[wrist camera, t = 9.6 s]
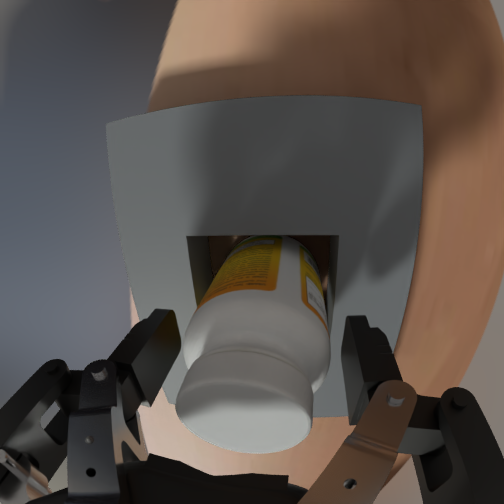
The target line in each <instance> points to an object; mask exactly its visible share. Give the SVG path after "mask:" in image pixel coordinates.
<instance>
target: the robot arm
mask: <svg viewBox="0 0 504 504" xmlns="http://www.w3.org/2000/svg"><path fill="white" fill-rule="evenodd" d="M180 350H181V336H180V332H179V327H178V323H177V319H176V314H175V312H174V310H171V309H159V308H156V309H154V311H153V312H152V313H151V314H150V316H149V317H148V318H147V319H146V318H145V319H143V320H142V321H140V322H138V323H137V324H135V326H134V327H133V328H132V329H131V330H130V332H129V333H128V334H127V335H126V337H125V338H124V340H122V341H121V343H120V344H119V345H118V346H117V348H116V349H115V350H114V352H113V353H112V354H111V355H110V356H109V358H108V359H107V360H106V359H101V360H96V361H93V362H91V363H90V364H88V365H87V366H86V367H85V369H84V370H69V368H68V366H67V364H66V363H65V361H63V360H61V359H53V360H50V361H48V362H46V363H45V364H44V365H42V366H41V367H40V368H39V369H38V370H37V371H36V372H35V373H34V374H33V375H32V376H31V377H30V378H29V379H28V381H27V382H26V383H25V384H24V385H23V386H22V387H21V388H20V389H19V390H18V391H17V392H16V393H15V394H14V395H13V396H12V397H11V398H10V399H9V400H8V402H7V403H6V404H5V405H4V406H3V407H2V408H1V409H0V502H1V503H2V504H373V502H374V500H375V499H376V497H377V495H378V494H379V492H380V490H381V488H382V486H383V484H384V483H385V481H386V479H387V477H388V475H389V473H390V471H391V469H392V467H393V465H394V463H395V461H396V458H397V456H398V453H405V454H412V458H413V462H414V466H415V469H416V474H417V477H418V482H419V486H420V490H421V495H422V499H423V504H504V458H503V456H502V453H501V451H500V448H499V446H498V444H497V441H496V439H495V437H494V435H493V433H492V430H491V429H490V426H489V424H488V422H487V420H486V418H485V416H484V414H483V412H482V410H481V408H480V406H479V404H478V403H477V401H476V399H475V397H474V396H473V394H472V393H471V392H469V391H468V390H466V389H464V388H460V387H453V388H450V389H448V390H446V391H445V392H444V393H443V394H442V396H441V398H437V397H428V396H421V395H418V394H417V393H416V391H415V390H414V388H413V387H412V386H411V385H409V384H408V383H406V382H403V380H402V377H401V374H400V371H399V368H398V365H397V363H396V360H395V357H394V354H392V349H391V346H390V344H389V341H388V339H387V336H386V334H385V333H384V332H383V331H381V330H380V329H379V328H378V327H371V328H370V326H369V323H368V320H367V317H366V315H348V316H347V317H346V320H345V327H344V334H343V340H342V346H341V363H342V370H343V377H344V384H345V392H346V400H347V408H348V417H349V425H356V427H355V428H354V430H353V432H352V433H351V435H348V437H347V438H346V439H345V441H344V442H343V444H342V445H341V447H340V448H339V450H338V451H337V452H336V454H335V455H334V457H333V458H332V460H331V461H330V463H329V464H328V465H327V467H326V468H325V469H324V471H323V472H322V473H321V475H320V476H319V477H318V479H317V480H316V481H315V483H314V484H313V485H312V486H311V488H310V489H309V490H307V489H305V488H303V487H300V486H297V485H294V484H290V483H288V477H289V475H268V474H255V473H249V474H238V475H223V476H213V475H209V474H207V473H204V472H202V471H200V470H198V469H195V468H193V467H191V466H189V465H187V464H185V463H183V462H181V461H177V460H173V459H169V458H165V457H161V456H158V455H154V454H151V453H150V454H149V456H148V455H147V453H146V450H145V445H144V439H143V434H142V428H141V422H140V415H139V412H138V410H137V409H138V408H139V406H140V405H143V406H147V407H151V406H152V404H153V402H154V400H155V398H156V396H157V394H158V392H159V390H160V389H161V387H162V385H163V383H164V381H165V379H166V377H167V375H168V374H169V372H170V370H171V368H172V366H173V364H174V362H175V360H176V359H177V357H178V355H179V353H180ZM54 401H55V402H56V403H57V405H58V407H59V408H60V410H59V412H58V413H57V414H56V415H55V416H54V418H53V419H52V420H51V421H50V423H49V424H48V425H47V426H46V428H45V429H44V430H43V428H42V427H41V424H40V420H41V417H42V416H43V414H44V413H45V412H46V411H47V410H48V408H49V407H50V406H51V405H52V404H53V403H54ZM66 456H67V475H68V487H67V488H65V489H62V490H59V491H57V492H54V493H52V491H51V489H50V488H49V487H48V483H49V481H50V480H51V478H52V477H53V475H54V473H55V472H56V471H57V469H58V468H59V466H60V465H61V464H62V462H63V461H64V459H65V458H66Z"/></svg>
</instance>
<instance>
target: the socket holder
mask: <svg viewBox="0 0 504 504" xmlns="http://www.w3.org/2000/svg"><path fill="white" fill-rule="evenodd" d="M106 135H107V148H108V160H109V170H110V178H111V187H112V195H113V202H114V208H115V215H116V221H117V226H118V232H119V237H120V242H121V247H122V252H123V257H124V262H125V266H126V270H127V275H128V279H129V283H130V287H131V291H132V295H133V299H134V302H135V306H136V310H137V313H138V317H139V320H140V321H142V320H143V319H145V318H146V319H147V318H148V317H149V316H150V314H151V313H152V312H153V311H154V309H156V308H159V309H171V310H174V312H175V314H176V319H177V323H178V327H179V332H180V336H181V350H180V353H179V355H178V357H177V359H176V360H175V362H174V364H173V366H172V368H171V370H170V372H169V374H168V375H167V377H166V379H165V381H164V383H163V385H162V387H163V390H164V392H165V395H166V397H167V400H168V402H169V403H170V404H176V398H177V395H178V392H179V390H180V388H181V385H182V383H183V380H184V378H185V375H186V373H187V371H188V368H187V365H186V362H185V358H184V353H183V341H184V335H185V332H186V329H187V327H188V325H189V322H190V320H191V318H192V316H193V314H194V312H195V311H196V309H197V307H198V305H199V303H200V302H201V300H202V299H203V297H204V296H205V294H206V292H207V290H208V289H209V287H210V285H211V284H212V282H213V278H212V269H211V261H210V252H209V243H208V236H220V235H330V250H329V269H328V284H327V298H326V317H327V323H328V330H329V336H330V345H331V360H330V366H329V370H328V373H327V376H326V378H325V380H324V381H323V383H322V384H321V386H320V387H319V388H318V389H317V391H316V392H315V393H313V394H314V401H313V417H340V416H348V408H347V400H346V392H345V384H344V377H343V370H342V363H341V346H342V340H343V334H344V327H345V320H346V317H347V316H348V315H366V317H367V320H368V323H369V326H370V328H371V327H378V328H379V329H380V330H381V331H383V332H384V333H385V334H386V336H387V339H388V341H389V344H390V346H391V349H392V354H393V352H394V348H395V345H396V342H397V338H398V334H399V331H400V327H401V323H402V319H403V315H404V311H405V307H406V303H407V298H408V293H409V289H410V284H411V278H412V273H413V267H414V261H415V255H416V248H417V241H418V233H419V225H420V215H421V203H422V187H423V121H422V106H421V105H416V104H410V103H404V102H397V101H389V100H381V99H371V98H360V97H345V96H319V95H291V96H265V97H250V98H239V99H229V100H220V101H212V102H205V103H198V104H191V105H185V106H179V107H174V108H169V109H164V110H159V111H154V112H150V113H145V114H141V115H137V116H133V117H129V118H125V119H121V120H117V121H114V122H110V123H107V124H106Z"/></svg>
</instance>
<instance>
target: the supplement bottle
mask: <svg viewBox="0 0 504 504" xmlns="http://www.w3.org/2000/svg"><path fill="white" fill-rule="evenodd" d="M183 353H184V358H185V362H186V365H187V368H188V371H187V373H186V375H185V378H184V380H183V383H182V385H181V388H180V390H179V392H178V395H177V398H176V404H175V408H176V412H177V415H178V417H179V419H180V420H181V422H182V423H183V424H184V425H185V427H186V428H187V429H188V430H190V431H191V432H192V433H194V434H195V435H196V436H198V437H199V438H201V439H203V440H204V441H206V442H208V443H211V444H213V445H215V446H218V447H221V448H224V449H228V450H232V451H236V452H243V453H272V452H278V451H282V450H285V449H288V448H291V447H293V446H295V445H297V444H299V443H300V442H301V441H303V440H304V439H305V438H306V437H307V435H308V434H309V432H310V430H311V428H312V421H313V401H314V394H313V393H315V392H316V391H317V389H318V388H319V387H320V386H321V384H322V383H323V381H324V380H325V378H326V376H327V373H328V370H329V366H330V360H331V345H330V336H329V330H328V323H327V317H326V310H325V304H324V297H323V291H322V285H321V279H320V273H319V270H318V266H317V263H316V261H315V259H314V257H313V256H312V254H311V253H310V251H309V250H308V249H307V248H306V247H305V246H304V245H302V244H301V243H300V242H298V241H297V240H295V239H293V238H291V237H289V236H286V235H254V236H251V237H249V238H247V239H245V240H243V241H242V242H240V243H239V244H238V245H237V246H235V248H234V249H233V250H232V251H231V252H230V254H229V255H228V256H227V258H226V260H225V261H224V263H223V265H222V266H221V268H220V270H219V272H218V273H217V275H216V277H215V278H214V280H213V282H212V284H211V285H210V287H209V289H208V290H207V292H206V294H205V296H204V297H203V299H202V300H201V302H200V303H199V305H198V307H197V309H196V311H195V312H194V314H193V316H192V318H191V320H190V322H189V325H188V327H187V329H186V332H185V335H184V341H183Z"/></svg>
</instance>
